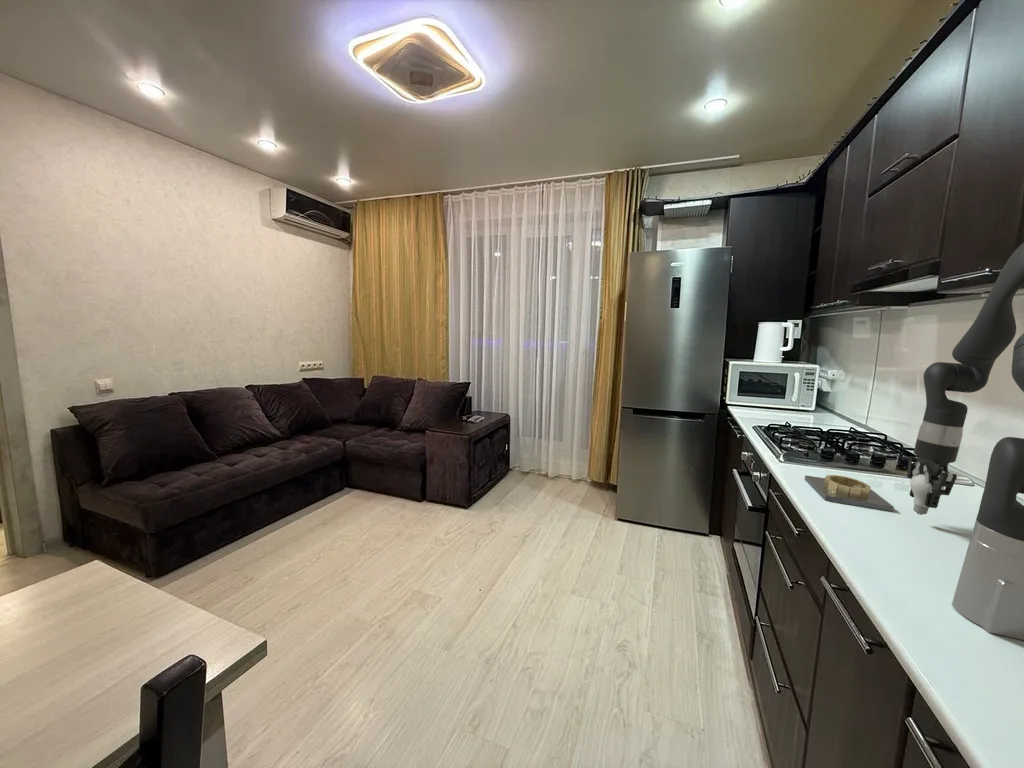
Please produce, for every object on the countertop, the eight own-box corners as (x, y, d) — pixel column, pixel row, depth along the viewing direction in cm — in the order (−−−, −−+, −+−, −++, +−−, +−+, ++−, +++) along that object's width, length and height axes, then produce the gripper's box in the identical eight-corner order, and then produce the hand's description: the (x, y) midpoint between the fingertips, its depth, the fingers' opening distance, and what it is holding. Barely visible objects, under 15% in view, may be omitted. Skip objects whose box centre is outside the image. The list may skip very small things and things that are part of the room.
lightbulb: (943, 521, 100) (954, 481, 98) (915, 518, 101) (925, 478, 99) (923, 510, 106) (933, 472, 104) (897, 507, 107) (906, 469, 105)
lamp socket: (892, 511, 110) (895, 498, 109) (824, 500, 115) (827, 487, 114) (863, 488, 125) (866, 476, 124) (804, 479, 130) (806, 468, 129)
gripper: (979, 451, 92) (961, 517, 95) (937, 435, 106) (922, 493, 109) (939, 446, 94) (922, 511, 97) (902, 431, 108) (888, 488, 111)
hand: (922, 501), depth 103 cm, fingers closed on lightbulb, 5 cm apart
